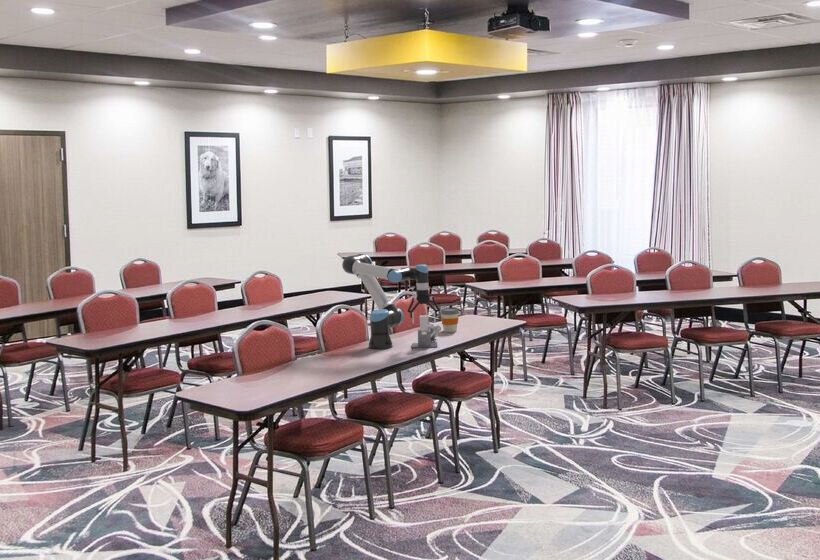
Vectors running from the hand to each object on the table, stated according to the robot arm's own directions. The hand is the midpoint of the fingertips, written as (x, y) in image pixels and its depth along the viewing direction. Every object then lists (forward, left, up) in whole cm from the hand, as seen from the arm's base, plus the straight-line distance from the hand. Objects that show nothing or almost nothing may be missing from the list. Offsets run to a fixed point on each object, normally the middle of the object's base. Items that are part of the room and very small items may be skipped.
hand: (424, 322), depth 548 cm
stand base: (0, 0, -15) cm, 15 cm away
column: (0, 0, -14) cm, 14 cm away
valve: (+2, +18, -16) cm, 24 cm away
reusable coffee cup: (+18, +51, -15) cm, 56 cm away
